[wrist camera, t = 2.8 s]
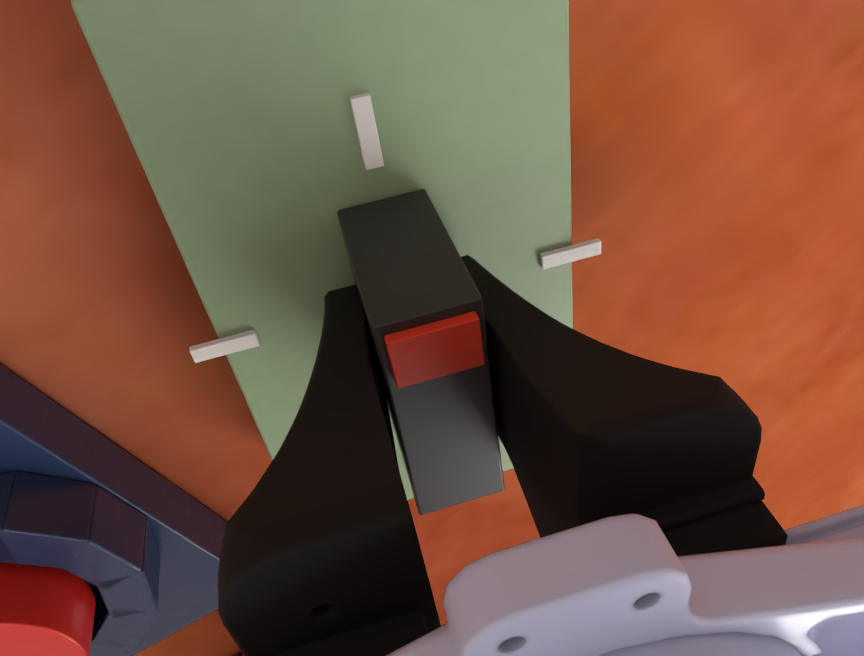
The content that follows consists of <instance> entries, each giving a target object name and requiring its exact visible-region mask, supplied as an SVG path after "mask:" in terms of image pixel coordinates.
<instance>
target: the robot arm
mask: <svg viewBox="0 0 864 656" xmlns="http://www.w3.org/2000/svg"><path fill="white" fill-rule="evenodd" d="M461 259H462V261H463V263H464V264H465V266H466V268H467V270H468V272H469V274H470V276H471V278H472V280H473V282H474V284H475V285H476V287H477V289H478V291H479V293H480V295H481V297H482V301H483V309H484V318H485V326H486V335H487V343H488V352H489V360H490V369H491V377H492V386H493V394H494V403H495V411H496V420H497V428H498V436H499V438H500V440H501V442H502V444H503V446H504V448H505V450H506V452H507V454H508V456H509V458H510V460H511V463H512V465H513V467H514V470H515V472H516V475H517V477H518V480H519V482H520V485H521V488H522V490H523V493H524V495H525V498H526V500H527V503H528V506H529V508H530V511H531V514H532V516H533V519H534V522H535V524H536V527H537V530H538V532H539V535H540V538H539V539H535V540H532V541H529V542H526V543H522V544H519V545H516V546H513V547H509V548H506V549H503V550H500V551H496V552H493V553H490V554H488V555H486V556H484V557H482V558H480V559H478V560H475V561H473V562H471V563H469V564H467V565H466V566H465V567H464V568H463V569H462V570H461V571H460V572H459V573H458V574H457V575H456V576H455V577H454V578H453V579H451V581H450V582H449V583H448V585H447V588H446V592H445V597H444V601H443V603H444V607H445V611H446V615H447V624H445V625H443V626H441V625H440V621H439V617H438V613H437V610H436V606H435V602H434V598H433V594H432V590H431V587H430V583H429V579H428V575H427V572H426V568H425V564H424V560H423V556H422V553H421V549H420V545H419V541H418V537H417V534H416V530H415V526H414V522H413V519H412V515H411V511H410V508H409V504H408V501H407V497H406V493H405V490H404V486H403V483H402V479H401V476H400V472H399V467H398V461H397V455H396V449H395V443H394V437H393V432H392V426H391V420H390V414H389V408H388V403H387V398H386V394H385V390H384V386H383V382H382V378H381V375H380V371H379V367H378V363H377V359H376V355H375V351H374V347H373V343H372V340H371V336H370V332H369V328H368V324H367V320H366V316H365V312H364V309H363V305H362V302H361V298H360V295H359V292H358V289H357V286H356V284H355V285H351V286H347V287H344V288H340V289H336V290H332V291H328V293H327V294H326V295H325V297H324V302H325V308H324V321H323V327H322V334H321V339H320V343H319V348H318V352H317V357H316V361H315V364H314V367H313V371H312V374H311V377H310V380H309V384H308V387H307V390H306V392H305V395H304V398H303V400H302V403H301V406H300V408H299V410H298V413H297V415H296V417H295V419H294V422H293V424H292V426H291V428H290V430H289V432H288V434H287V436H286V438H285V440H284V442H283V444H282V445H281V447H280V449H279V451H278V452H277V454H276V456H275V458H274V459H273V461H272V462H271V464H270V465H269V467H268V468H267V470H266V472H265V473H264V475H263V476H262V478H261V479H260V481H259V482H258V484H257V485H256V487H255V488H254V490H253V491H252V492H251V494H250V495H249V496H248V497H247V499H246V500H245V501H244V502H243V504H242V505H241V506H240V508H239V509H238V510H237V511H236V513H235V514H234V515H233V516H232V517H231V519H230V520H229V521H228V522H227V523H226V528H225V532H224V537H223V541H222V547H221V553H220V560H219V569H218V610H219V614H220V617H221V620H222V622H223V624H224V626H225V627H226V629H227V630H228V632H229V633H230V635H231V636H232V638H233V639H234V641H235V642H236V644H237V645H238V647H239V648H240V650H241V651H242V653H243V654H244V655H243V656H864V505H861V506H858V507H855V508H852V509H849V510H846V511H843V512H839V513H836V514H833V515H830V516H827V517H824V518H821V519H818V520H814V521H811V522H808V523H805V524H802V525H799V526H796V527H793V528H789V529H786V530H783V528H782V527H781V526H780V524H779V523H778V522H777V520H776V519H775V518H774V516H773V515H772V514H771V512H770V511H769V510H768V508H767V507H766V506H765V504H764V503H763V502H762V500H763V499H764V496H765V494H764V491H763V489H762V487H761V486H760V485H759V484H758V482H757V481H756V480H755V478H754V477H753V476H752V475H753V471H754V467H755V462H756V458H757V454H758V450H759V446H760V442H761V431H762V428H761V425H760V422H759V420H758V417H757V416H756V415H755V414H754V413H753V411H752V410H751V409H750V408H749V407H748V406H747V404H746V403H745V402H744V401H743V400H742V399H741V398H740V396H739V395H738V394H737V393H736V392H735V391H734V390H733V389H732V388H730V387H729V386H728V385H727V384H726V383H725V382H724V381H723V380H722V379H721V378H720V377H717V376H712V375H708V374H703V373H698V372H693V371H689V370H684V369H679V368H675V367H671V366H668V365H664V364H661V363H657V362H654V361H650V360H647V359H644V358H641V357H638V356H635V355H632V354H629V353H626V352H624V351H621V350H619V349H616V348H613V347H611V346H608V345H606V344H603V343H601V342H599V341H596V340H594V339H592V338H590V337H588V336H586V335H584V334H582V333H580V332H578V331H576V330H574V329H572V328H570V327H568V326H566V325H564V324H563V323H561V322H559V321H557V320H556V319H554V318H553V317H551V316H549V315H548V314H546V313H544V312H543V311H541V310H540V309H538V308H537V307H535V306H534V305H532V304H531V303H529V302H528V301H527V300H525V299H524V298H522V297H521V296H520V295H518V294H517V293H515V292H514V291H513V290H511V289H510V288H509V287H507V286H506V285H505V284H504V283H502V282H501V281H500V280H499V279H497V278H496V277H495V276H494V275H492V274H491V273H490V272H489V271H488V270H486V269H485V268H484V267H483V266H482V265H480V264H479V263H478V262H477V261H476V260H475V259H474V258H472V257H471V256H469V255H465V256H461Z"/></svg>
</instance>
